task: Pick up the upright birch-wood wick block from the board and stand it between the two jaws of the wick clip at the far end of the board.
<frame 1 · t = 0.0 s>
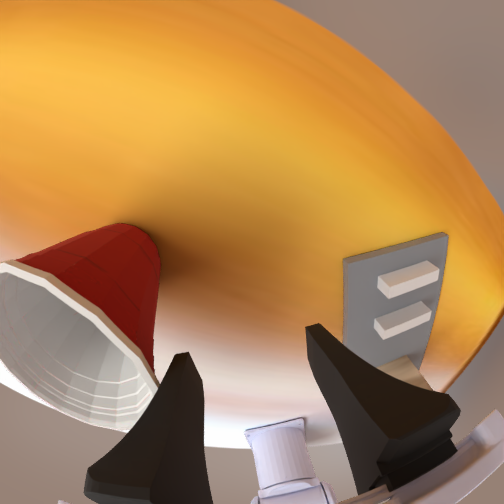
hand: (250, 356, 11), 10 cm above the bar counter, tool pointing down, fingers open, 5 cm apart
wick block: (388, 368, 28), point 1 cm above the bar counter, touching clip board
plastic cup: (126, 260, 20), on the bar counter, touching gripper
clip board: (391, 327, 26), on the bar counter
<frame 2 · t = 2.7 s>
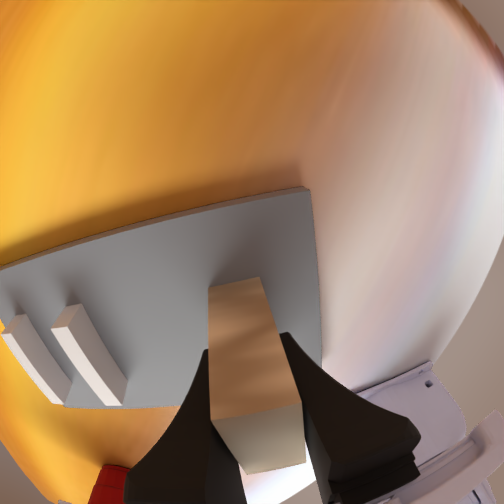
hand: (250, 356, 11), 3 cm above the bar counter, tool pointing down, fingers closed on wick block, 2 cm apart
wick block: (244, 324, 14), point 1 cm above the bar counter, touching clip board, gripper
plastic cup: (125, 472, 23), on the bar counter
clip board: (138, 331, 14), on the bar counter
when the fingers open (5 cm above the bar counter, at t = 6.2 s): wick block stays where it is, resting on clip board.
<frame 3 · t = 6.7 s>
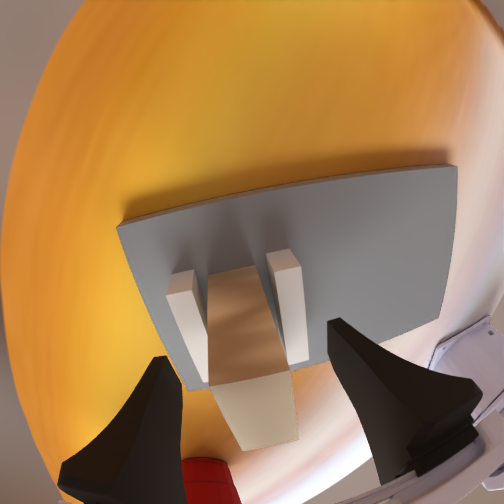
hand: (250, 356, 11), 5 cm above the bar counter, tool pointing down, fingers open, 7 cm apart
wick block: (241, 310, 15), point 1 cm above the bar counter, touching clip board
plastic cup: (205, 464, 25), on the bar counter
clip board: (323, 280, 16), on the bar counter
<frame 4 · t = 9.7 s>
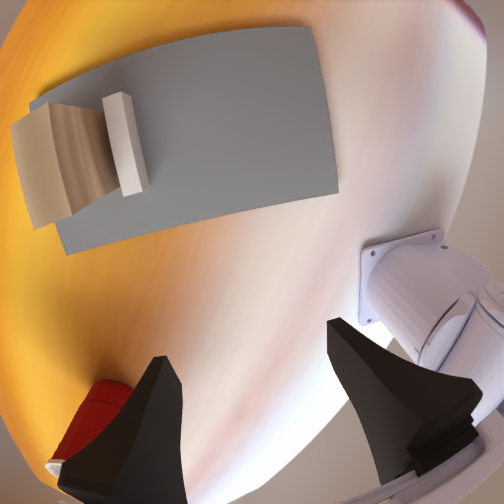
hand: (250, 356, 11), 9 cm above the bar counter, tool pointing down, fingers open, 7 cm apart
wick block: (97, 154, 15), point 1 cm above the bar counter, touching clip board
plastic cup: (118, 395, 25), on the bar counter
clip board: (172, 131, 16), on the bar counter
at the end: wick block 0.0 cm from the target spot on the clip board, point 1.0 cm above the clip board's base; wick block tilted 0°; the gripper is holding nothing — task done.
